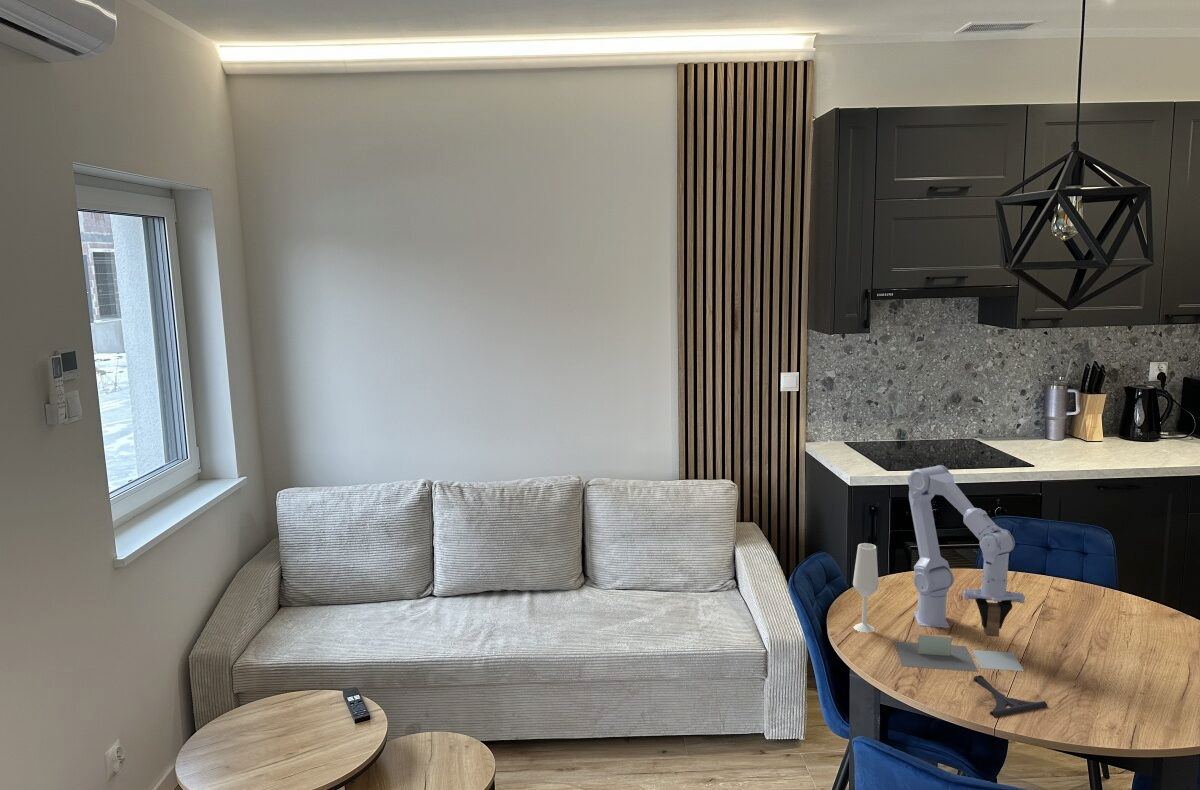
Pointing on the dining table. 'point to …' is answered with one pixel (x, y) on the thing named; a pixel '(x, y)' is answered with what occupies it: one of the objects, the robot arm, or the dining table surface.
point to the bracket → (1008, 701)
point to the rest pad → (997, 660)
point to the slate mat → (935, 658)
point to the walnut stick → (993, 620)
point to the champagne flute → (865, 579)
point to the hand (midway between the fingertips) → (991, 626)
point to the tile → (934, 644)
